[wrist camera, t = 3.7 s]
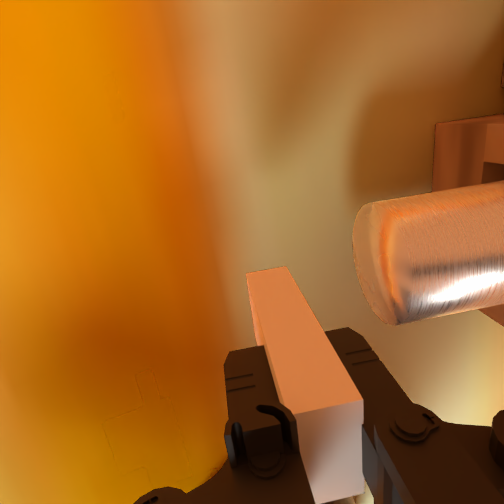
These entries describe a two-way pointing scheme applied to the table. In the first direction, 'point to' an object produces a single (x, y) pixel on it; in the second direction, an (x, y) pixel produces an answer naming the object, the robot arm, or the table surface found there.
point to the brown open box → (470, 162)
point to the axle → (432, 253)
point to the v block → (502, 78)
